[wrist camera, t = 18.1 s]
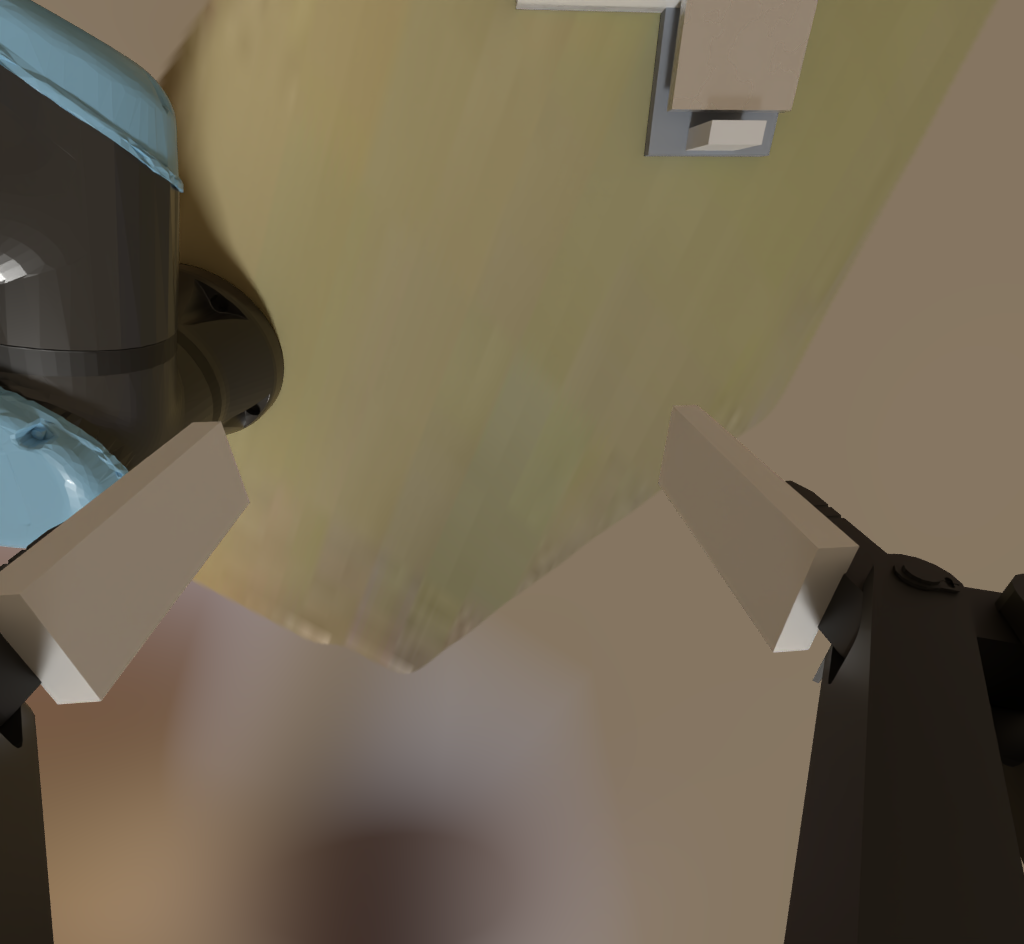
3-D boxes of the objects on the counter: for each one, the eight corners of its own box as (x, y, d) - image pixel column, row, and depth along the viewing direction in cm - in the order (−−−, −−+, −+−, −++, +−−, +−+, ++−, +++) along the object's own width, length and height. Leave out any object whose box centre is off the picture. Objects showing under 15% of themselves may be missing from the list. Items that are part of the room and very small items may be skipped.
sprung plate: (666, 111, 34) (671, 109, 33) (690, -67, 29) (697, -75, 28) (782, 113, 34) (791, 110, 33) (824, -62, 30) (834, -70, 29)
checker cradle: (644, 156, 37) (667, 149, 33) (674, -103, 30) (709, -155, 26) (761, 156, 38) (799, 150, 33) (819, -96, 30) (876, -147, 26)
